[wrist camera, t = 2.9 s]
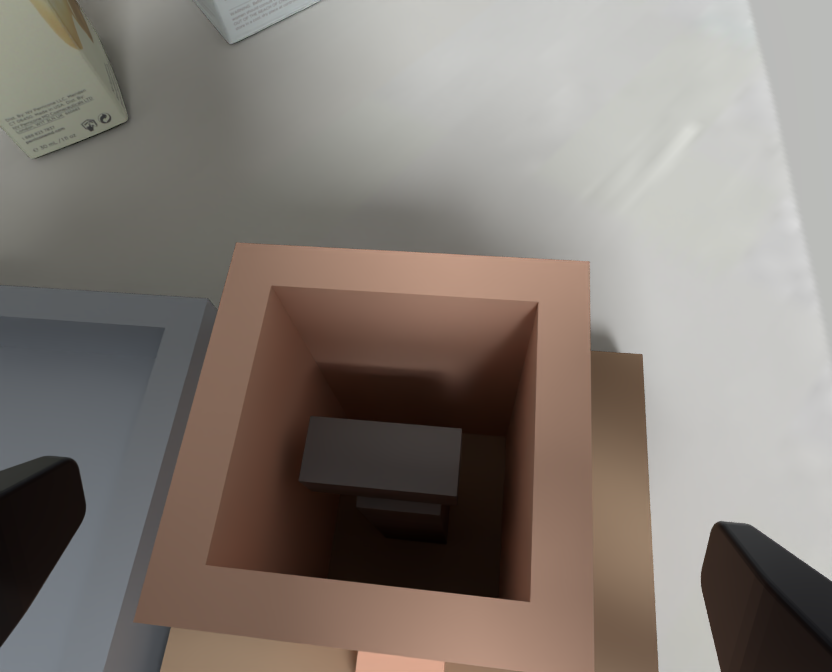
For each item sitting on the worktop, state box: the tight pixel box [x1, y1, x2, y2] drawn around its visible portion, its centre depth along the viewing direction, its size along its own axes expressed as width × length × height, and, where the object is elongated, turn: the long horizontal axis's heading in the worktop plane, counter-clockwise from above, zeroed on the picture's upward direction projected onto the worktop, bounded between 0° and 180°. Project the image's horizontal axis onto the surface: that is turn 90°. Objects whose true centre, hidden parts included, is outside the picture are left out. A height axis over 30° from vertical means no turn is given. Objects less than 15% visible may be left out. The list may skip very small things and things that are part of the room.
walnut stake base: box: [160, 351, 658, 672], centre depth 13 cm, size 14×12×8 cm
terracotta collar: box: [133, 243, 595, 672], centre depth 12 cm, size 8×6×8 cm
